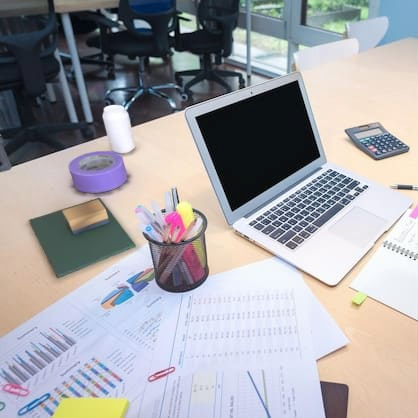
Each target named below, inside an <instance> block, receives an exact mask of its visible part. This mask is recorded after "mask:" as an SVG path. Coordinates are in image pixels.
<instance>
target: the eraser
mask: <svg viewBox="0 0 418 418" xmlns="http://www.w3.org/2000/svg"><path fill="white" fill-rule="evenodd" d="M80 204H81V203H80ZM77 205H78V204H77ZM62 212H63V215H64V218H65V220H66V223H67V225H68V226H69V228H70V230H71V231H72V233H73V235H75V234H78V233H81V232H84V231H87V230H90V229H92V228H95V227H98V226H101V225H104V224H106V223H109V218H108V215H107V212H106V209H105V208H104V206H103V205H102V204H101V202H100V201H99V200H98V199H97V200H94V201H91V202H88V203H85V204H81V205H78V206H75V207H72V208H69V209H66V210H63V211H62Z"/></svg>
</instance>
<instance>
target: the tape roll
mask: <svg viewBox="0 0 418 418" xmlns="http://www.w3.org/2000/svg"><path fill="white" fill-rule="evenodd" d="M125 165H126V164H125V161H124V157H123V156H122V155H121V153H117V152H114V151H112V150H97V151H91V152H86V153H83V154H80V155H78V156H76V157H75V158H73V159H72V160H71V161H70V162H69V163H68V171H69V174H70V177H71V180H72V183H73V185H74V188H75V189H77V190H78V191H79V192H82V193H89V194H99V193H105V192H110V191H112V190H115V189H118V188H119V187H120V186H122V185H123V184H125V183H126V181H127V179H128V173H127V170H126V166H125Z"/></svg>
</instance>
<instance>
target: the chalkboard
mask: <svg viewBox="0 0 418 418" xmlns="http://www.w3.org/2000/svg"><path fill="white" fill-rule="evenodd" d="M97 199H98V200H99V201H100V202H101V204H102V205H103V206H104V208H105V209H106V212H107V215H108V218H109V223H106V224H104V225H101V226H98V227H95V228H92V229H90V230H87V231H84V232H81V233H78V234H75V235H73V233H72V231H71V230H70V228H69V226H68V225H67V223H66V220H65V218H64V215H63V212H62V211H63V210H66V209H69V208H72V207H75V206H78V205H81V204H85V203H88V202H91V201H94V200H97ZM28 222H29V224H30V225H31V227H32V230H33V232H34V234H35V236H36V238H37V239H38V241H39V243H40V245H41V247H42V249H43V251H44V253H45V255H46V257H47V259H48V262H49V263H50V265H51V267H52V269H53V271H54V273H55V275H56V277H57V278H58V279H59V278H62V277H65V276H66V275H68V274H72V273H75V272H77V271H79V270H82V269H84V268H86V267H88V266H91V265H94V264H96V263H98V262H101V261H104V260H106V259H109V258H111V257H114V256H116V255H119V254H121V253H124V252H125V251H128V250H130V249H133V248H135V247H136V246H137V245H136V243H135V241H133V239H132V238H131V236H129V234H128V233H127V231H126V230H125V229H124V227H123V226H122V225H121V223H120V222H119V220H117V218H116V217H115V216H114V214H113V213H112V212H111V211H110V209H109V207H107V205H106V204H105V202H104V201H103V200H102V199H101V197H96V198H94V199H90V200H88V201H83V202H80V203H78V204H74V205H72V206H68V207H65V208H62V209H59V210H55V211H52V212H50V213H47V214H46V213H45V214H43V215H40V216H37V217H34V218H31V219H28Z"/></svg>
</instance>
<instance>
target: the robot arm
mask: <svg viewBox="0 0 418 418" xmlns="http://www.w3.org/2000/svg"><path fill="white" fill-rule="evenodd" d="M3 144H4V137H3V135H2V134H1V133H0V173H4V172H7V171H10V170H11V169H12V164H11V162H10V159H9V156H8V155H7V153H6V150H5V148H4V145H3Z"/></svg>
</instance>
